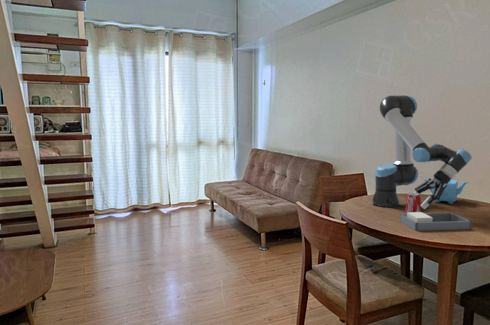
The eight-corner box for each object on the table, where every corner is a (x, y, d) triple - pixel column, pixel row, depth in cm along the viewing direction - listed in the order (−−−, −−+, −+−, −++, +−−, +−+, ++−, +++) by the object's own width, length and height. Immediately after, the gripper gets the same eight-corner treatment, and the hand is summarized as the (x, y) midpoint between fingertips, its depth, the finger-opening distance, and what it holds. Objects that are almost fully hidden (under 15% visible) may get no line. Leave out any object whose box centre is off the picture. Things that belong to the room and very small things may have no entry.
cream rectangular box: (416, 228, 161) (417, 218, 161) (406, 222, 171) (406, 212, 171) (432, 228, 162) (432, 217, 161) (421, 222, 172) (421, 212, 171)
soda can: (422, 218, 182) (422, 195, 180) (407, 217, 183) (408, 195, 182) (418, 214, 188) (419, 192, 187) (404, 214, 190) (404, 192, 189)
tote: (415, 232, 159) (415, 223, 158) (399, 223, 174) (400, 214, 174) (470, 231, 159) (471, 221, 159) (450, 221, 175) (450, 212, 174)
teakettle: (446, 197, 227) (447, 174, 225) (470, 203, 209) (471, 179, 207) (420, 199, 224) (421, 176, 222) (441, 206, 205) (442, 181, 204)
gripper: (465, 183, 171) (433, 215, 172) (436, 176, 195) (408, 203, 197) (454, 173, 170) (423, 205, 171) (426, 166, 195) (399, 194, 196)
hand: (415, 204), depth 184 cm, fingers open, 13 cm apart
